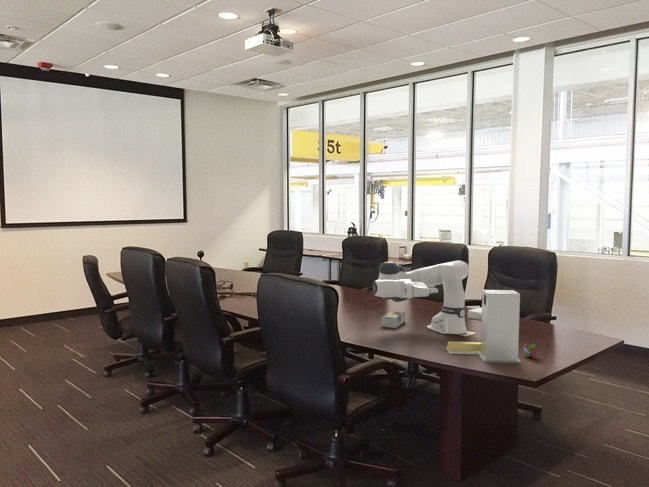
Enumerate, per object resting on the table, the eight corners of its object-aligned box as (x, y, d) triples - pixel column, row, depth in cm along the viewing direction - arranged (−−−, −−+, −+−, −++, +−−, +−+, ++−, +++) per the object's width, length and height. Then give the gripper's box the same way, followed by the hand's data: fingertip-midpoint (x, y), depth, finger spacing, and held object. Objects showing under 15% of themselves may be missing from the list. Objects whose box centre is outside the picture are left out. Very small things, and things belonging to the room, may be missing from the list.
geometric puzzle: (545, 354, 239) (536, 338, 243) (535, 356, 235) (526, 340, 239) (534, 360, 244) (525, 344, 248) (524, 362, 241) (516, 346, 244)
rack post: (484, 362, 234) (485, 293, 232) (478, 355, 245) (480, 289, 243) (520, 362, 233) (522, 294, 231) (513, 355, 244) (515, 290, 242)
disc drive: (511, 317, 328) (511, 309, 328) (493, 322, 313) (493, 314, 313) (486, 313, 341) (486, 305, 341) (467, 318, 326) (467, 310, 325)
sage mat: (449, 353, 247) (449, 352, 247) (446, 348, 256) (446, 346, 256) (497, 354, 246) (497, 353, 246) (492, 349, 255) (492, 347, 254)
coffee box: (395, 328, 295) (405, 323, 309) (396, 317, 295) (406, 312, 309) (380, 326, 300) (391, 321, 314) (381, 315, 299) (391, 310, 313)
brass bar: (448, 350, 250) (448, 343, 249) (447, 348, 253) (447, 341, 253) (489, 351, 248) (489, 344, 247) (487, 349, 251) (488, 342, 251)
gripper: (404, 291, 261) (432, 291, 261) (409, 298, 241) (439, 299, 240) (405, 278, 261) (433, 279, 260) (409, 285, 241) (439, 285, 240)
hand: (436, 289), depth 250 cm, fingers open, 8 cm apart
